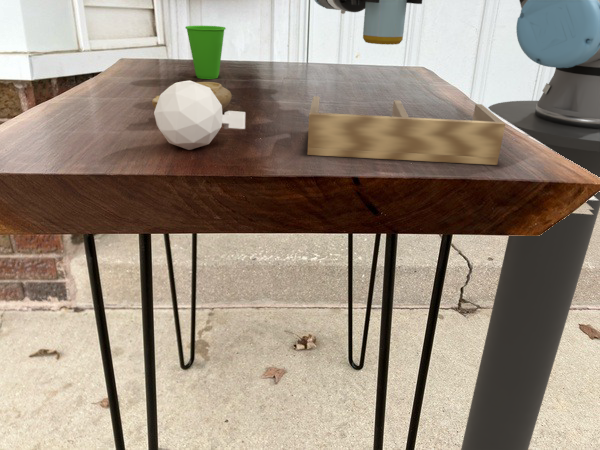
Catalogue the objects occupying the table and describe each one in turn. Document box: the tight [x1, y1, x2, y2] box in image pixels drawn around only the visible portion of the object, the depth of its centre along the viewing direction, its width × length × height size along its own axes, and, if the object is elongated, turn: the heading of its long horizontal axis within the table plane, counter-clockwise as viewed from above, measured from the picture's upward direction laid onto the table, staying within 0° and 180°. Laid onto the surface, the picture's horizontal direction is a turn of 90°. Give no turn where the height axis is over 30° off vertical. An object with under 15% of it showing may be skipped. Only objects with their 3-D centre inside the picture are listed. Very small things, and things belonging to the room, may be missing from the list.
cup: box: [185, 25, 227, 80], centre depth 121 cm, size 9×9×11 cm
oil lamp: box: [151, 81, 232, 110], centre depth 86 cm, size 11×14×5 cm
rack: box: [306, 95, 506, 166], centre depth 74 cm, size 25×12×6 cm, turn 86°
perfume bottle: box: [153, 79, 246, 151], centre depth 71 cm, size 9×9×12 cm
